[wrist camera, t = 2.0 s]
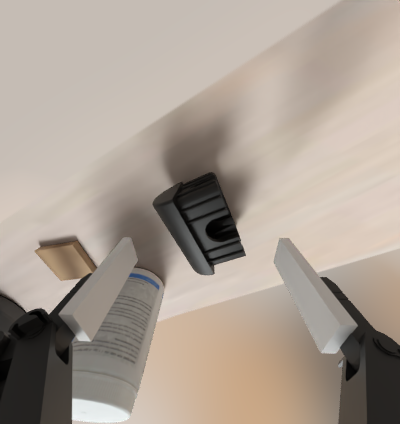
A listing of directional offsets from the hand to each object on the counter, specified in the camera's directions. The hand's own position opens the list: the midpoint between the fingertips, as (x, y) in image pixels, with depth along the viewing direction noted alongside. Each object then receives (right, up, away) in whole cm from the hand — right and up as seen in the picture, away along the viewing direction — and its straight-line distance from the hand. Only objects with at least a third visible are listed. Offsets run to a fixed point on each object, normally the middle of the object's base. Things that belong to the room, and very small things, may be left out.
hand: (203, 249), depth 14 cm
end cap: (0, +4, +7) cm, 8 cm away
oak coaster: (-23, -5, +12) cm, 26 cm away
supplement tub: (-11, -10, +15) cm, 21 cm away
